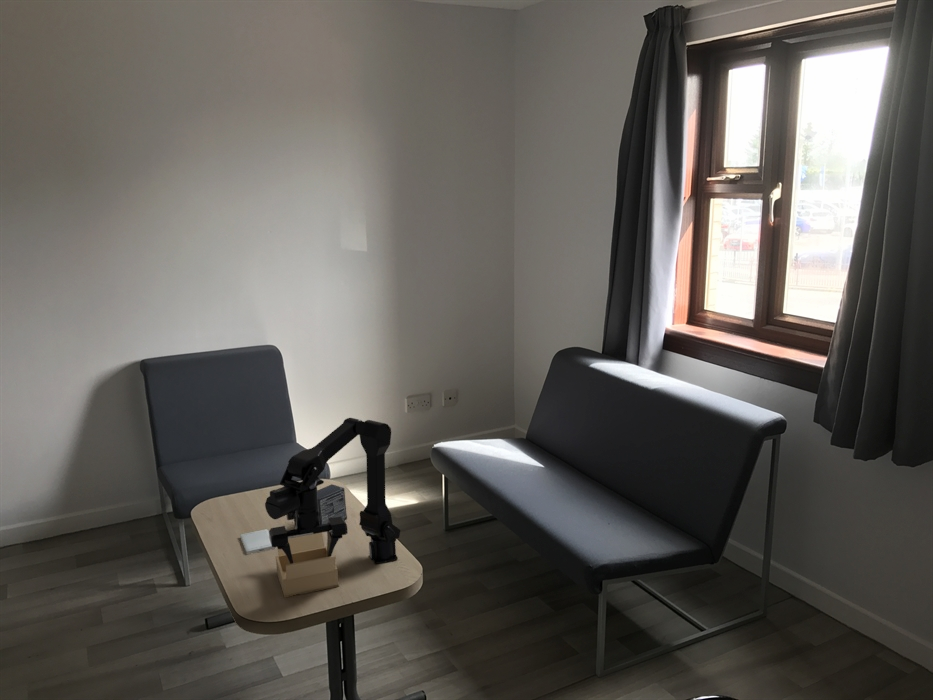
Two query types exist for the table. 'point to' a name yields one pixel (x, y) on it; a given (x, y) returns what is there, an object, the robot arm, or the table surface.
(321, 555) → the carton
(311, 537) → the flap
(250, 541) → the hard drive
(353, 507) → the table surface
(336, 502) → the small box
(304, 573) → the flap
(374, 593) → the table surface
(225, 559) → the table surface
